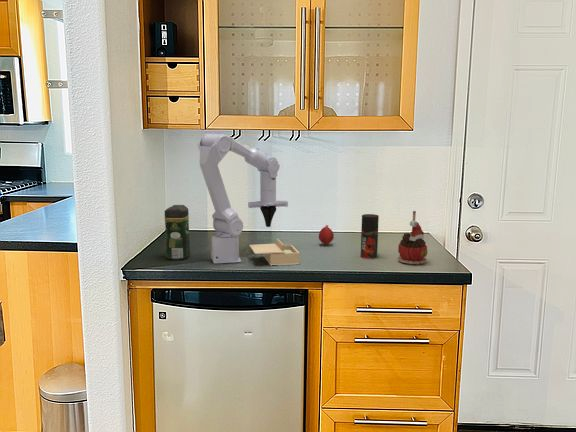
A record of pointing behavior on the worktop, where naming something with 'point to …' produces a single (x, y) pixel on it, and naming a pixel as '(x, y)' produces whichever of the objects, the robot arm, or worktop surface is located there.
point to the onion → (326, 235)
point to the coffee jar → (177, 232)
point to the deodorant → (369, 236)
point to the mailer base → (284, 257)
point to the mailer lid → (268, 248)
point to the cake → (413, 245)
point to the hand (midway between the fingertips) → (268, 226)
